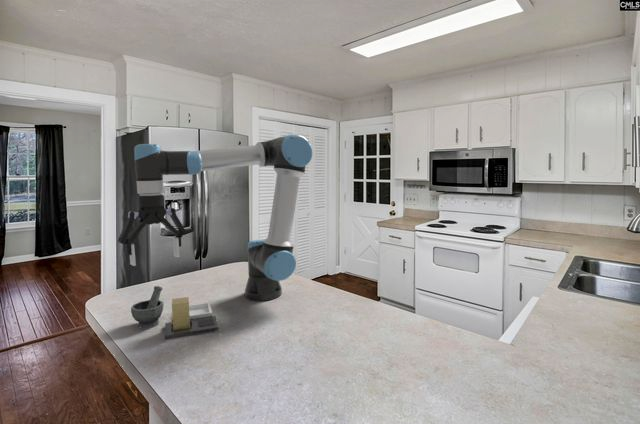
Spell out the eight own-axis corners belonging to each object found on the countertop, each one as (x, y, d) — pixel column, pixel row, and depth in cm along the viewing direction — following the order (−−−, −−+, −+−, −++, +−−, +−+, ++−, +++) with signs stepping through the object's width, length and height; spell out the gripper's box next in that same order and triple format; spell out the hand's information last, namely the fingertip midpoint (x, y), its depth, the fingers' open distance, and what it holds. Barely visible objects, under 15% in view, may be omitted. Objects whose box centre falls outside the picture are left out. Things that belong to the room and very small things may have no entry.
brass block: (189, 325, 120) (188, 296, 119) (190, 332, 116) (188, 302, 114) (173, 328, 118) (171, 299, 117) (173, 334, 114) (171, 304, 113)
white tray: (209, 307, 136) (209, 302, 136) (212, 318, 126) (212, 312, 125) (178, 312, 132) (178, 306, 132) (178, 323, 122) (178, 317, 121)
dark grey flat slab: (215, 318, 126) (215, 315, 126) (218, 330, 116) (218, 326, 116) (165, 326, 120) (165, 322, 120) (164, 339, 111) (164, 335, 110)
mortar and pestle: (147, 332, 115) (145, 296, 114) (125, 328, 119) (123, 293, 117) (173, 319, 126) (171, 285, 124) (152, 315, 129) (150, 283, 128)
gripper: (184, 191, 124) (188, 251, 127) (102, 196, 107) (108, 266, 109) (194, 192, 119) (198, 255, 122) (110, 197, 102) (116, 271, 104)
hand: (155, 260), depth 116 cm, fingers open, 13 cm apart
